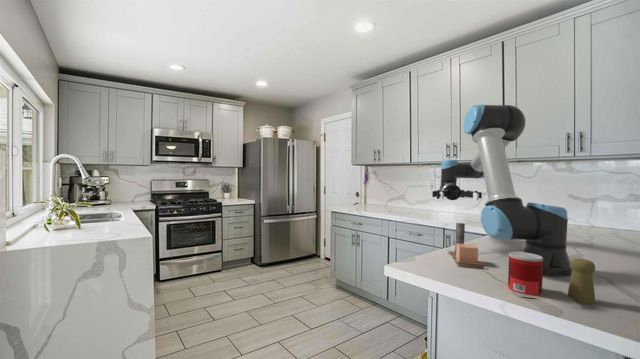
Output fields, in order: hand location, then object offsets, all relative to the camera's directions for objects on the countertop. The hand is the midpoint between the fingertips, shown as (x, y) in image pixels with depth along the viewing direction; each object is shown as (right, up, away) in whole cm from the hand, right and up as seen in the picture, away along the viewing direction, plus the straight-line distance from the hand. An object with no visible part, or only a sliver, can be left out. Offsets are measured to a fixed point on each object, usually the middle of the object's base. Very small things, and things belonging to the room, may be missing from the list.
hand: (460, 196), depth 129 cm
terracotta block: (-5, -23, -17) cm, 29 cm away
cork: (+12, -26, -46) cm, 54 cm away
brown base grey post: (-4, -24, -13) cm, 27 cm away
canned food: (-1, -25, -43) cm, 49 cm away
